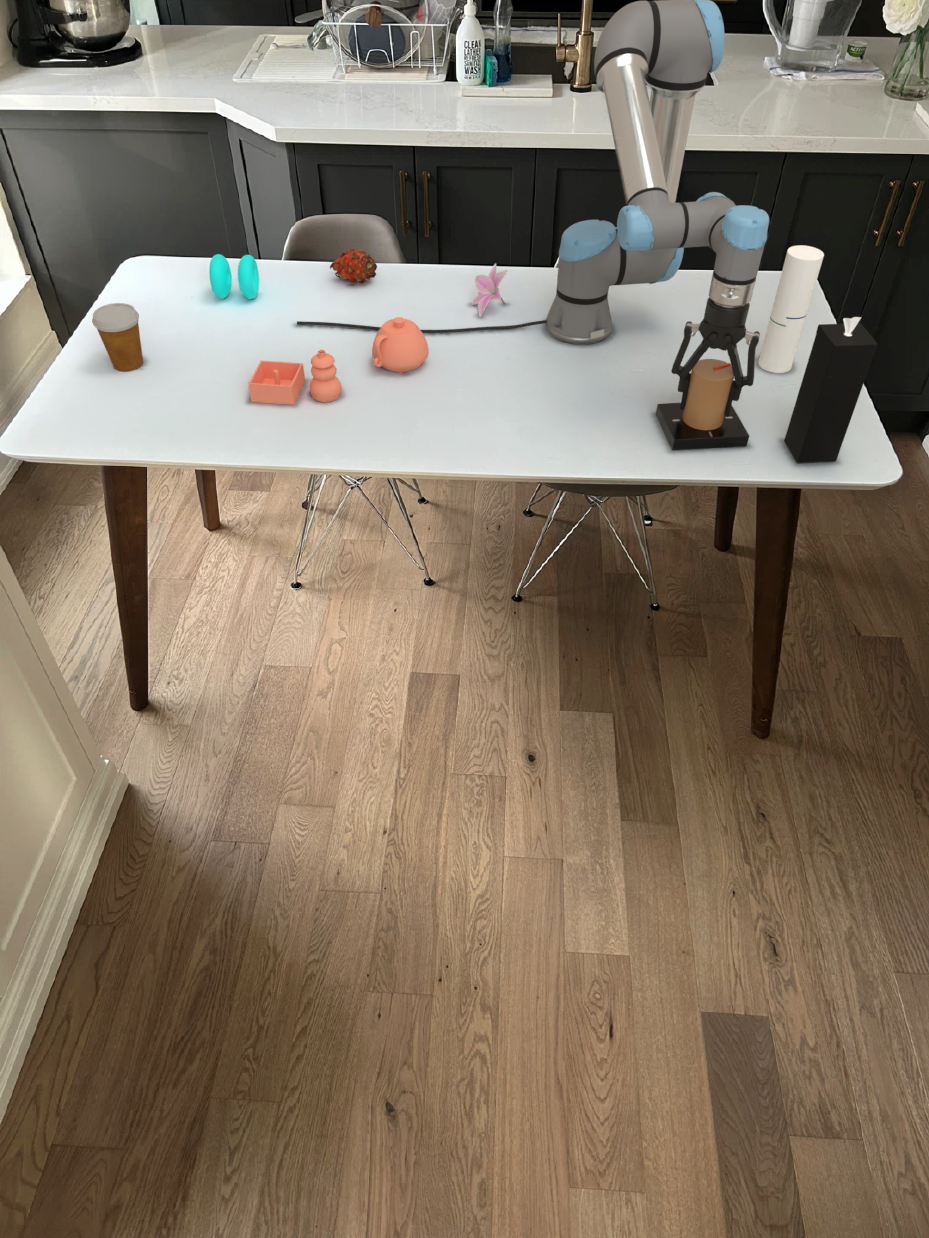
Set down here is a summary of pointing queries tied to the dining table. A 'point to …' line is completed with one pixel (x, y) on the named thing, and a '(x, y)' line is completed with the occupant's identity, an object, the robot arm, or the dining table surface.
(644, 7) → the robot arm
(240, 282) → the donuts
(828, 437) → the tissue box
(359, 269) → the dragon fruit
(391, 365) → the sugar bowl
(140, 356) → the disposable coffee cup
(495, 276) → the lily
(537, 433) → the dining table surface
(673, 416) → the control knob panel
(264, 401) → the terracotta box and gourd
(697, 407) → the tan pointer knob
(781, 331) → the cylindrical container
